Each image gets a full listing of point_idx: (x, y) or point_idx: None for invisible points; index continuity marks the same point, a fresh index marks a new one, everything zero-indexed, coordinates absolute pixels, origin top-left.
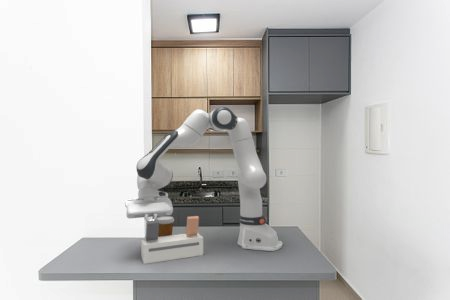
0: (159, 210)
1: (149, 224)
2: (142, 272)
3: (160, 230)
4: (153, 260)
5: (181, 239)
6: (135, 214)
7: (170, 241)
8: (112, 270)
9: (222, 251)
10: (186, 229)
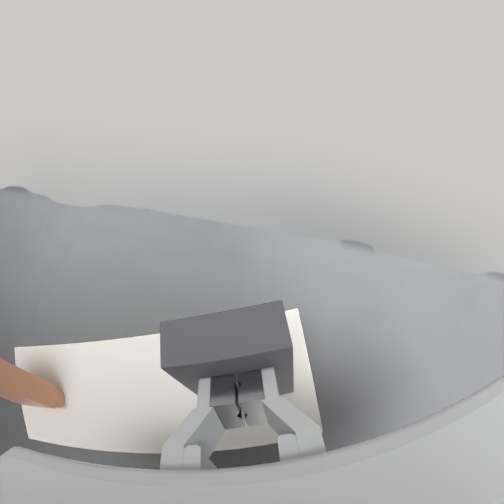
0: (109, 480)
1: (257, 309)
2: (288, 234)
3: None
4: None
5: (88, 352)
6: (445, 409)
7: (142, 336)
8: (401, 275)
9: (14, 361)
10: (40, 396)
